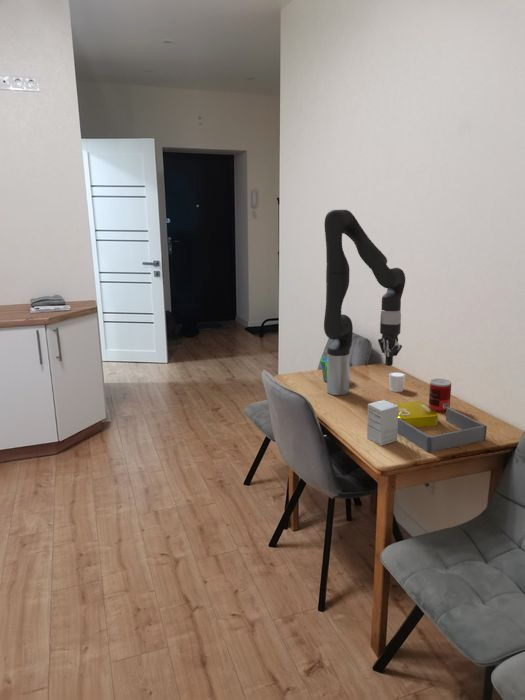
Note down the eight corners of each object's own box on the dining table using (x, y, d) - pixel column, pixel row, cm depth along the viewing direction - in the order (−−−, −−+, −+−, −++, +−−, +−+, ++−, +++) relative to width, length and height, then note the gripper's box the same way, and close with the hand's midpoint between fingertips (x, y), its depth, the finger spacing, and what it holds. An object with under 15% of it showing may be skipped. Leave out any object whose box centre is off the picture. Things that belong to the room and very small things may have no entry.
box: (394, 430, 182) (395, 417, 181) (447, 420, 190) (448, 407, 188) (428, 452, 165) (429, 438, 164) (485, 439, 173) (486, 426, 172)
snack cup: (335, 387, 228) (336, 365, 225) (313, 383, 233) (313, 362, 231) (349, 377, 241) (349, 356, 238) (328, 374, 246) (328, 353, 244)
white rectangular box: (382, 433, 180) (384, 399, 177) (397, 441, 174) (399, 405, 171) (366, 438, 177) (367, 403, 174) (380, 446, 171) (381, 410, 167)
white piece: (405, 392, 219) (406, 377, 217) (388, 392, 220) (389, 376, 218) (404, 387, 225) (405, 372, 223) (388, 386, 227) (388, 371, 225)
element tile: (439, 426, 186) (440, 414, 184) (399, 429, 184) (399, 417, 182) (421, 411, 200) (421, 399, 199) (383, 414, 198) (384, 402, 197)
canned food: (450, 406, 203) (452, 379, 200) (448, 413, 196) (450, 386, 193) (430, 403, 206) (431, 377, 203) (427, 410, 199) (428, 383, 196)
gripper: (372, 319, 201) (371, 362, 206) (392, 325, 189) (390, 371, 194) (388, 317, 204) (387, 359, 208) (409, 323, 192) (407, 368, 196)
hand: (388, 365), depth 201 cm, fingers closed
